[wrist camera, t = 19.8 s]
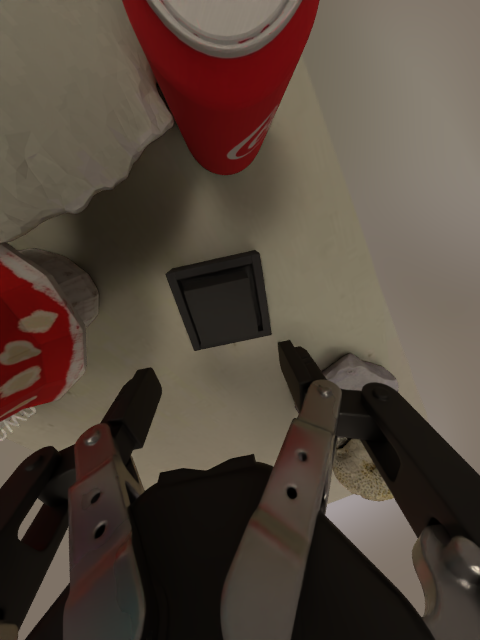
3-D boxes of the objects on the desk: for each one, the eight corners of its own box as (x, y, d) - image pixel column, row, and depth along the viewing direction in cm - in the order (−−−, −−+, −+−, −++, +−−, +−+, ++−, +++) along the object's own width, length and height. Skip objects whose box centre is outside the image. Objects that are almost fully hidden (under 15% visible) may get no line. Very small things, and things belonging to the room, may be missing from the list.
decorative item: (369, 497, 36) (349, 520, 29) (337, 445, 41) (315, 454, 35) (435, 475, 31) (429, 497, 24) (389, 419, 36) (375, 425, 30)
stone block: (283, 394, 30) (336, 422, 31) (288, 419, 26) (349, 450, 27) (330, 335, 27) (389, 368, 27) (345, 352, 22) (415, 391, 23)
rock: (41, -24, 13) (-228, 221, 8) (-33, -212, 8) (-697, 77, 4) (212, 85, 15) (81, 324, 10) (222, -20, 11) (8, 306, 6)
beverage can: (273, 157, 16) (376, 9, 5) (205, 190, 17) (171, 123, 6) (245, 49, 13) (337, -743, 2) (166, 95, 14) (-38, -364, 3)
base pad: (197, 339, 23) (194, 351, 21) (171, 268, 19) (164, 273, 17) (267, 324, 23) (271, 335, 21) (255, 249, 19) (259, 252, 17)
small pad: (205, 331, 21) (202, 346, 19) (189, 282, 19) (183, 291, 16) (254, 320, 21) (258, 334, 18) (245, 270, 19) (248, 277, 16)
